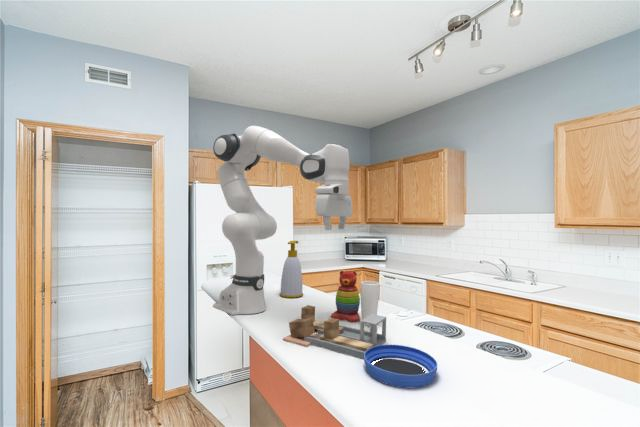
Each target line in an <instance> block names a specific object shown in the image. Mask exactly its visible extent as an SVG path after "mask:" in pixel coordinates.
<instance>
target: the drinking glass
mask: <svg viewBox="0 0 640 427" xmlns="http://www.w3.org/2000/svg"><path fill="white" fill-rule="evenodd" d="M359 289H360V290H359V291H360V292H359V297H360V310H361V314H360V315H361V320H363V319H364V318H366V317H368V316H369V315H371V314H374V315H378V307H379V300H380V299H379V298H380V283H379V282H377V281H374V280H364V281H361V282H360V288H359ZM364 326H367V327H370V325H368V324H365V325H364Z"/></svg>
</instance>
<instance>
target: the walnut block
mask: <svg viewBox="0 0 640 427" xmlns="http://www.w3.org/2000/svg"><path fill="white" fill-rule="evenodd" d="M288 325H289V326H288V327H289V332H290V335H291V337H307V336H309V335H311V334H316V333H315V332H316V331H315V329H314V325H313V319H312V318H302V319H301V318H296V319H293V320H291V321H289V322H288Z"/></svg>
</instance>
